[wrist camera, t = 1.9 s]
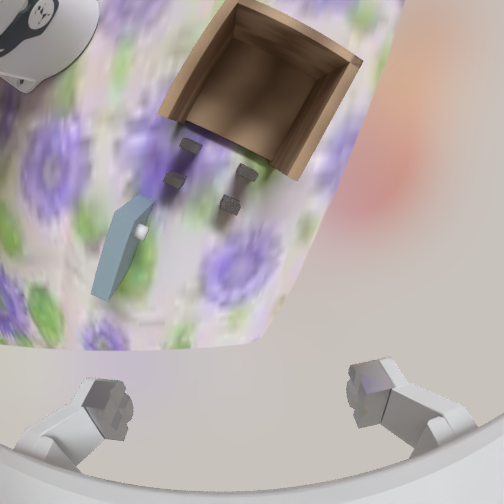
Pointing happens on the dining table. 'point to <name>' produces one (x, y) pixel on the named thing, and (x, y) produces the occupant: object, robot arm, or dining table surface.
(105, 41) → the dining table surface
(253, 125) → the cabinet
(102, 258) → the door
